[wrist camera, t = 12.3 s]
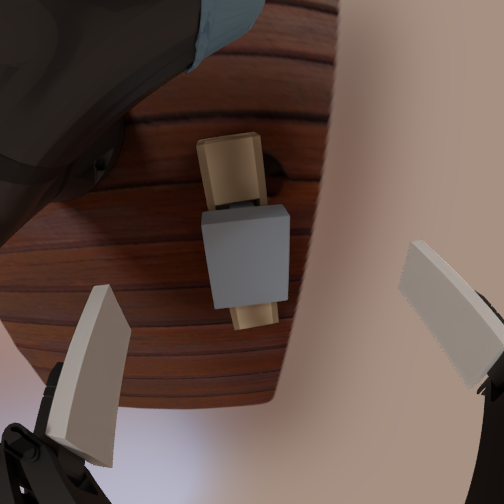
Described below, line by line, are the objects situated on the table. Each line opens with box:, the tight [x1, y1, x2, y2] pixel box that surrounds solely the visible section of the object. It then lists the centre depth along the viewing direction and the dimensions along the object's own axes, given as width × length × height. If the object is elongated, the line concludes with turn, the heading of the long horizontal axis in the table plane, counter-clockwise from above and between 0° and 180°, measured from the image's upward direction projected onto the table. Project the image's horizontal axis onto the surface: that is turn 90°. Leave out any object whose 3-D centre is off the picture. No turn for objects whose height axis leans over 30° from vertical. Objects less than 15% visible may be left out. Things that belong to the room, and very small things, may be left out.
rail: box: [196, 132, 278, 330], centre depth 32 cm, size 6×24×4 cm, turn 7°
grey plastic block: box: [201, 199, 290, 309], centre depth 30 cm, size 8×10×7 cm
